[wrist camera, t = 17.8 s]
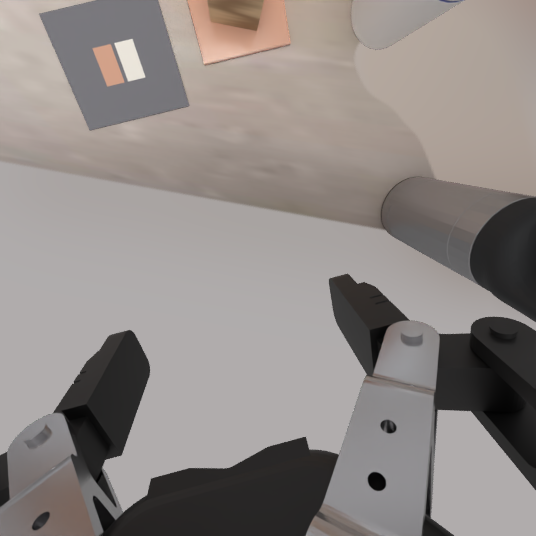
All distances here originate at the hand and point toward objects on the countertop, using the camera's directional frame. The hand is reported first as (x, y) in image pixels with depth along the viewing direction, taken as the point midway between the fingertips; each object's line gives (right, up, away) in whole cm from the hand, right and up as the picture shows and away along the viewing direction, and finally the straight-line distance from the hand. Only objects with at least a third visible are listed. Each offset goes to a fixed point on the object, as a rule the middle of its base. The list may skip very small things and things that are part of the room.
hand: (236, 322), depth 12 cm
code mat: (-15, +25, +20) cm, 35 cm away
